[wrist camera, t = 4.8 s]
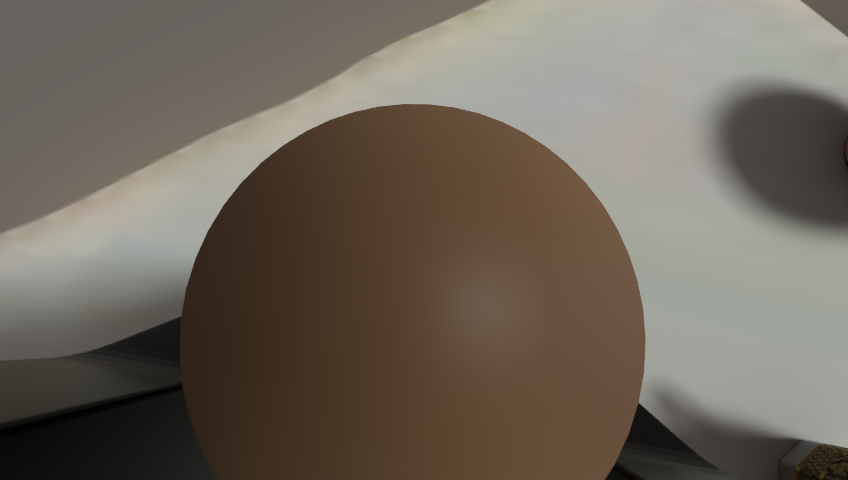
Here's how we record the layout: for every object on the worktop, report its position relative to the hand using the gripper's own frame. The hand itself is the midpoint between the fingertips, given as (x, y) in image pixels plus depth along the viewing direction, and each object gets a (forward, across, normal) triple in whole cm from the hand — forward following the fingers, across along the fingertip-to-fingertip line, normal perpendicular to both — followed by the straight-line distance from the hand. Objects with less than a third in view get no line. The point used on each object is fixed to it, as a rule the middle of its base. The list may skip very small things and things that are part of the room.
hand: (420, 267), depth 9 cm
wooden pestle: (+4, 0, +6) cm, 7 cm away
